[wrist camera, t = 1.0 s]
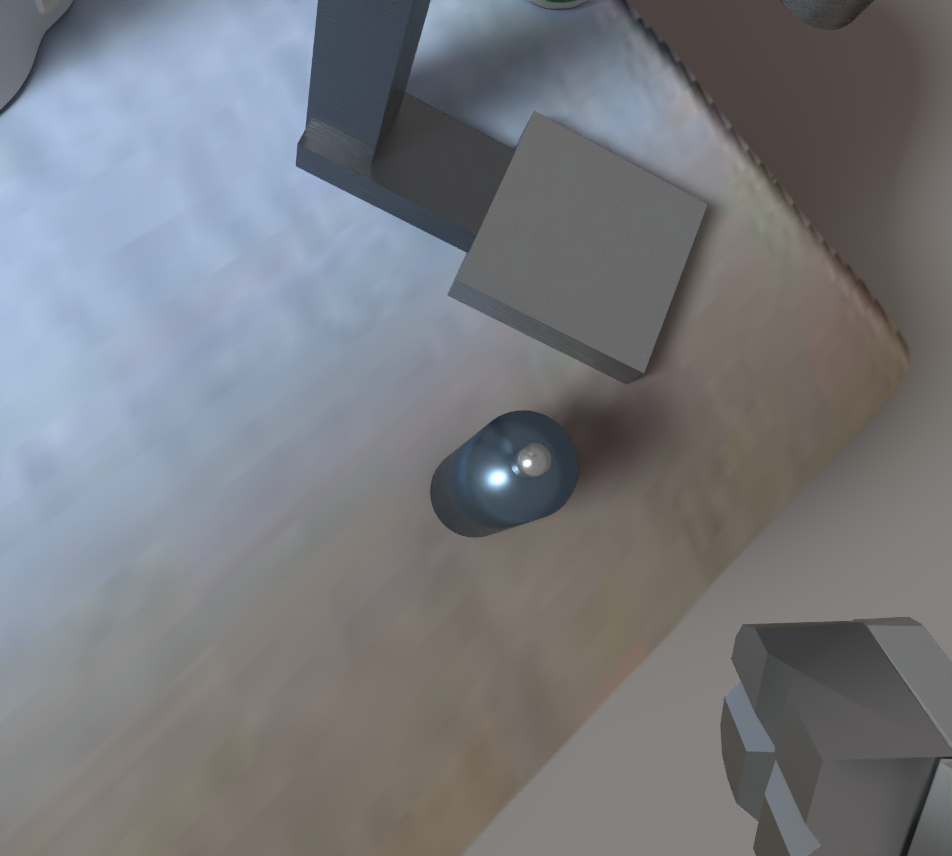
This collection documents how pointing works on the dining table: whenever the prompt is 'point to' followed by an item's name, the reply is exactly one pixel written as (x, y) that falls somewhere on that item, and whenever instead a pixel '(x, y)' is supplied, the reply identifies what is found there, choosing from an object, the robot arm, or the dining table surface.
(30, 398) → the dining table surface
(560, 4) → the supplement bottle
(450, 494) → the blue bottle with knob
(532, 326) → the press
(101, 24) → the dining table surface
